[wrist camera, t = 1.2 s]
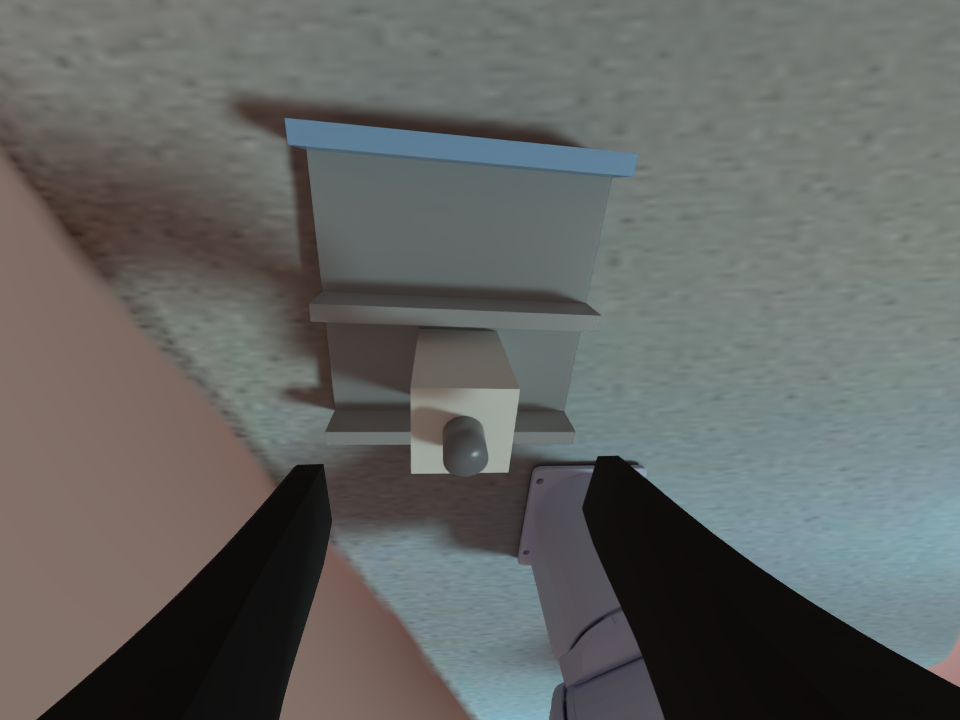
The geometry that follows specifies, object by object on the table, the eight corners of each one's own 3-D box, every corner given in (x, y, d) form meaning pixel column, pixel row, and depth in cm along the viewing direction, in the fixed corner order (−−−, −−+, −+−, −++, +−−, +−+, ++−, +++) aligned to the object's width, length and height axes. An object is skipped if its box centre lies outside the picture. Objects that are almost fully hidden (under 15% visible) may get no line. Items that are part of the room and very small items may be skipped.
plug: (490, 397, 21) (515, 500, 14) (418, 396, 20) (408, 502, 13) (496, 331, 19) (529, 411, 12) (418, 328, 18) (407, 410, 12)
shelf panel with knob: (557, 413, 23) (572, 443, 20) (340, 411, 21) (326, 444, 18) (606, 158, 17) (638, 153, 14) (311, 129, 15) (284, 118, 12)
